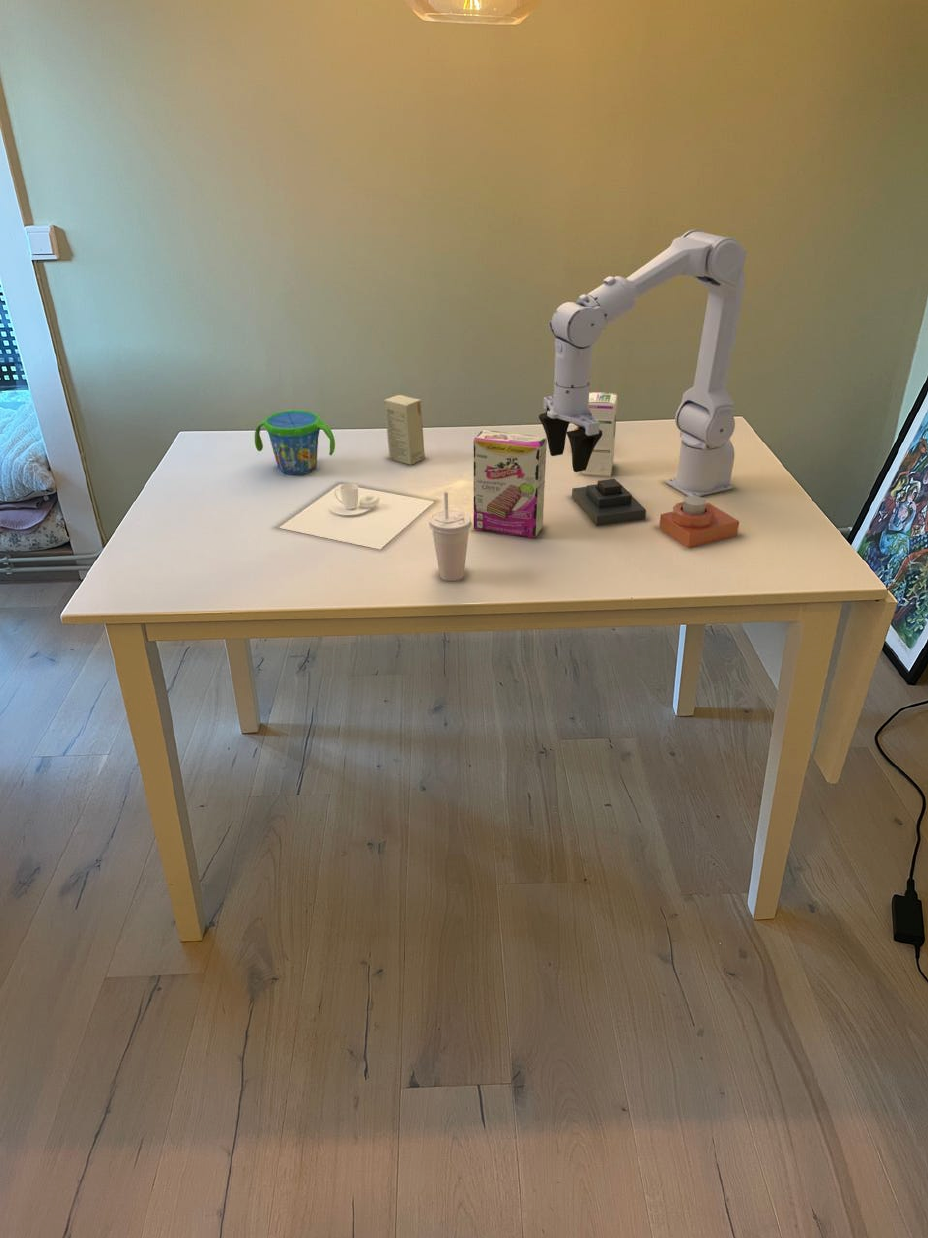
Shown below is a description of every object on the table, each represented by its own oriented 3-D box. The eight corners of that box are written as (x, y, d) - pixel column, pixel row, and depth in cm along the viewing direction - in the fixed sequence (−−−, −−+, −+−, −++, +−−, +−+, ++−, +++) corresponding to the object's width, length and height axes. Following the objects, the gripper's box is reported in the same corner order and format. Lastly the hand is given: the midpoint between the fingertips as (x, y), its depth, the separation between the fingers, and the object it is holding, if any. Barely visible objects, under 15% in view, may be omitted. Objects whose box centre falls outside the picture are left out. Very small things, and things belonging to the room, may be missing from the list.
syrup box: (611, 476, 166) (617, 402, 158) (580, 474, 167) (584, 400, 159) (613, 465, 171) (619, 392, 163) (582, 463, 172) (587, 391, 164)
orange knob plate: (706, 516, 151) (710, 492, 148) (737, 535, 145) (741, 511, 142) (658, 528, 147) (661, 504, 145) (687, 548, 141) (691, 523, 139)
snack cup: (345, 462, 174) (340, 412, 168) (324, 482, 165) (318, 431, 160) (274, 455, 178) (267, 406, 172) (249, 475, 169) (241, 424, 164)
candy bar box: (472, 531, 147) (471, 439, 139) (481, 518, 151) (481, 428, 143) (536, 540, 144) (539, 446, 135) (544, 527, 148) (547, 435, 139)
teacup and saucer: (385, 503, 157) (383, 482, 155) (362, 521, 151) (361, 499, 149) (343, 495, 160) (341, 474, 158) (320, 512, 154) (317, 491, 152)
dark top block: (613, 487, 154) (614, 478, 153) (620, 494, 152) (621, 485, 151) (596, 489, 153) (597, 480, 153) (603, 497, 151) (604, 487, 150)
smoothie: (430, 566, 137) (426, 484, 130) (470, 563, 138) (469, 482, 130) (432, 586, 132) (429, 502, 125) (474, 584, 132) (473, 500, 125)
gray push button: (695, 505, 145) (697, 494, 144) (709, 513, 142) (711, 502, 141) (677, 509, 144) (679, 498, 143) (691, 518, 141) (692, 506, 140)
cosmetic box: (425, 459, 174) (423, 399, 168) (410, 465, 172) (407, 405, 165) (402, 451, 178) (399, 393, 171) (387, 458, 175) (383, 398, 169)
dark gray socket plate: (617, 491, 160) (619, 474, 158) (645, 519, 150) (647, 501, 148) (571, 497, 158) (572, 479, 156) (596, 526, 148) (598, 507, 146)
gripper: (528, 373, 143) (526, 451, 150) (573, 399, 132) (569, 482, 139) (565, 367, 145) (561, 445, 153) (613, 392, 134) (606, 474, 142)
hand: (567, 462), depth 146 cm, fingers open, 7 cm apart
